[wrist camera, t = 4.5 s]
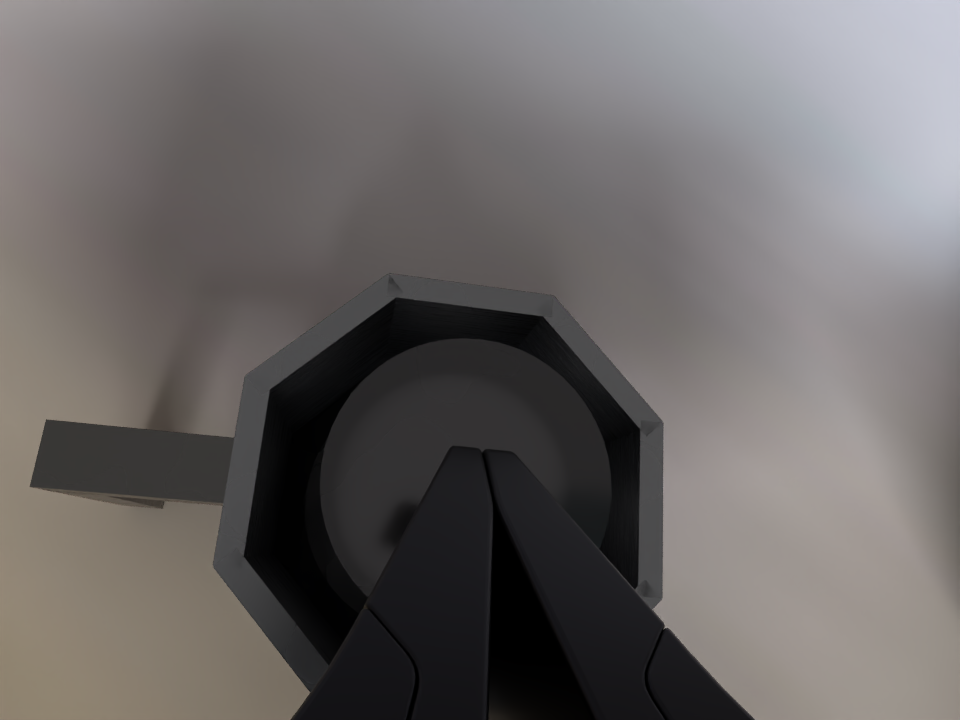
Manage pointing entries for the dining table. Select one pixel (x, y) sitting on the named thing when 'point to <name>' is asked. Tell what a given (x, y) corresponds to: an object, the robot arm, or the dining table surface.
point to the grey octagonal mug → (306, 425)
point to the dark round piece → (444, 449)
